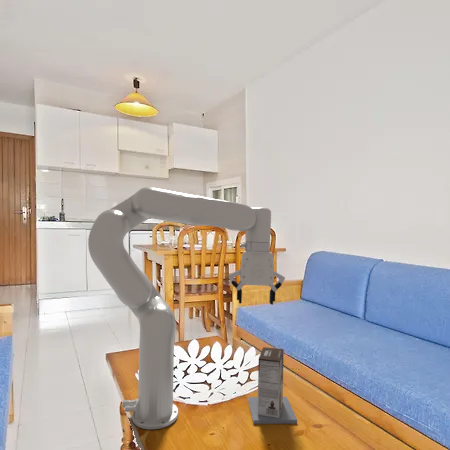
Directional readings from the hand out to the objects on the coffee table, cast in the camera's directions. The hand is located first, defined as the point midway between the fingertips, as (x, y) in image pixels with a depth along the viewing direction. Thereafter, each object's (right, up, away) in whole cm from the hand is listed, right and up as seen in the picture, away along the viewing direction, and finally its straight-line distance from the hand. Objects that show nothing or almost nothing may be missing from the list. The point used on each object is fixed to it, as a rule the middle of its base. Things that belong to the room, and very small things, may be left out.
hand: (255, 303), depth 103 cm
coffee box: (+4, -29, -6) cm, 30 cm away
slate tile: (+4, -30, -6) cm, 31 cm away
